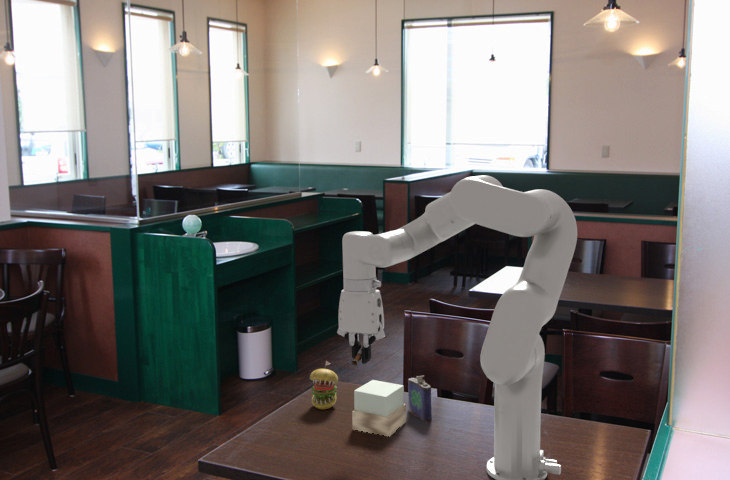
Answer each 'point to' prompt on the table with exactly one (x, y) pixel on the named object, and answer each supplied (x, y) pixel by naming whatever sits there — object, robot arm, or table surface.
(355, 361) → the wooden post with brackets
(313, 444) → the table surface
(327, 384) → the hamburger
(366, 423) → the bottom block
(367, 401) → the top block
